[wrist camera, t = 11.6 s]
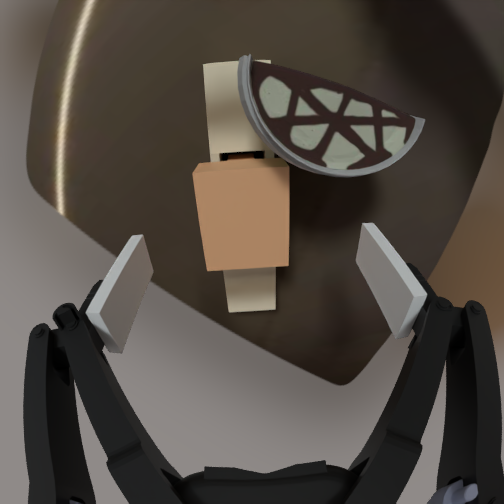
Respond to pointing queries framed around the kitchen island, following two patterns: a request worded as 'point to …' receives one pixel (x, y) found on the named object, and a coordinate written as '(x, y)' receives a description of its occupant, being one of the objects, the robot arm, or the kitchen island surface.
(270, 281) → the rail
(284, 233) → the tan toy stool
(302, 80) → the grey green half-round piece
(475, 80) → the kitchen island surface
